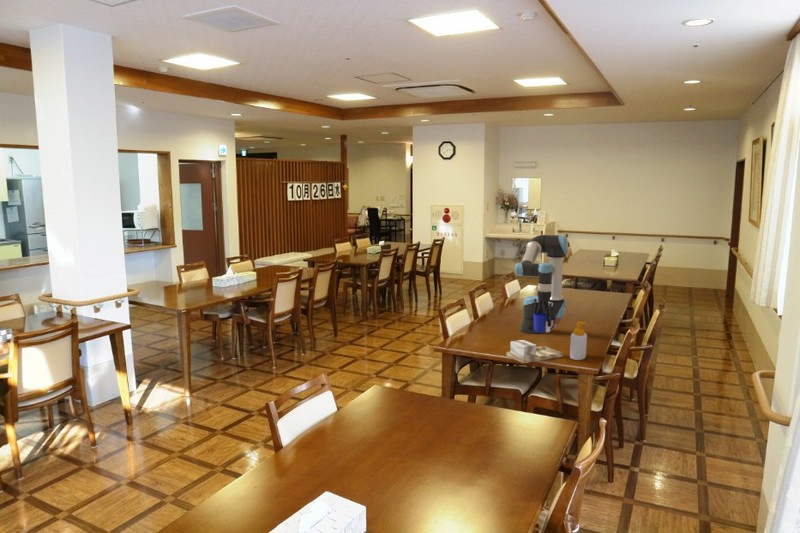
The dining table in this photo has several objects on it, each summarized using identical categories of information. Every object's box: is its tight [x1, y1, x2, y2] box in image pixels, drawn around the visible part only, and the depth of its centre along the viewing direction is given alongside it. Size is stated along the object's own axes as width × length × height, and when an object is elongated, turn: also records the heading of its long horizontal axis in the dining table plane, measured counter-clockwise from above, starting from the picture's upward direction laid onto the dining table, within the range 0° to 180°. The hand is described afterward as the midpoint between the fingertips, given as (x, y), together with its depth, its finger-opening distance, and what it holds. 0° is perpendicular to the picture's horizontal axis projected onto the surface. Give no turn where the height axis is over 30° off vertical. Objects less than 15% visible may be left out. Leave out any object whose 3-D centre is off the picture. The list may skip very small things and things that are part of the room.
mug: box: [534, 313, 557, 334], centre depth 310 cm, size 8×12×10 cm
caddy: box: [505, 339, 564, 364], centre depth 311 cm, size 28×15×9 cm, turn 117°
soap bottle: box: [569, 321, 588, 361], centre depth 309 cm, size 13×8×20 cm, turn 148°
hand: (542, 330), depth 312 cm, fingers closed on mug, 8 cm apart
